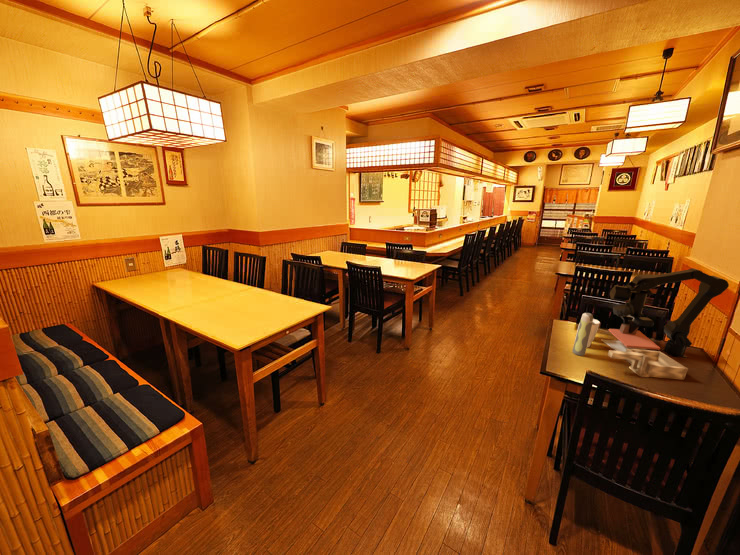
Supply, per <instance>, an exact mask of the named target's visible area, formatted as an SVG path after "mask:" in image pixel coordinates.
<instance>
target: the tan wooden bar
mask: <svg viewBox="0 0 740 555" xmlns="http://www.w3.org/2000/svg"><path fill="white" fill-rule="evenodd" d="M643 355H645V354H643V353H637V352H625V351H615V350H614V349H613V350H611V349H610V350H608V353H607V356H608V357H610V358H611V359H620V360H621V359H622V360H625V359H631V360H642V358H643ZM645 356H646V355H645Z"/></svg>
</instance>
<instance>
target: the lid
mask: <svg viewBox="0 0 740 555" xmlns="http://www.w3.org/2000/svg"><path fill="white" fill-rule="evenodd" d="M629 326H630V324H623V323H621V325H620V328H609V329H608V330H607V331H609V332H610V334H612V335H613V336H614V337H615V338H616V339H617V341H620V342H622V343H623V344H624V345H625V346H626V347H631V348H644V349H646V350H656V351H657V350H658V351H660V350H661V347H660V346H659V345H657V344H656V343H655V342H654V341H652V340H651V339H650V338H649V337H647V335H645V333H644V334H643V332H641V331H640V330H638V329H639V327H638V328H637V329H636V330H635V331H634V332H632V333H629Z"/></svg>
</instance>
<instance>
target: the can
mask: <svg viewBox="0 0 740 555" xmlns="http://www.w3.org/2000/svg"><path fill="white" fill-rule="evenodd" d="M579 325H580V322H579V323H578V326H577V331H576V335H575V339H576V336H577V332H578V328H579ZM594 330H595V323H594V322H593V323H592V327H591V331H590V335H589V339H588V343H587V348H590V347H591V344H592V342H593V341H592V338H593V334H594ZM575 339H574V340H575Z"/></svg>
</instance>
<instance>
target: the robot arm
mask: <svg viewBox="0 0 740 555" xmlns="http://www.w3.org/2000/svg"><path fill="white" fill-rule="evenodd" d="M690 280H696V281H699V282H700V283H699V286H698V290H697V291H698V293H697V294H695V296H694V297H693V299H692V300H691V301H690V302H689V304H688V305H687V306H686V308H685V309H684V310H683V311H682V313H681V314H680V315H679V316H678V318H677V319H675V320H671V319H669V320H667V323H666V324H665V325H664V326H663V333H664V334H665V335H666V337H667V341H666V343H665V344H664V348H660V350H661V351H662V352H663V353H665V354H666V355H668V356H671V357H675V358H687V357H688V356H687V355H685V352H686V350H687V348H689V347H691V346H692V344H693V343H692V341H691V340H690V339H689V338H688V336H689V334H690V333H691V332H690V330H691V326H692V324H693V323H694V322H695V320H696V319H697V318H698V316H699V315H700V314H701V313H702V312H703V310H704V309H705V308H706V307H707V305H709V303H710V302H711V300H712V299H714V298H716V297H718V296H721V294H723V293H724V292H725V291H727V289H729V286H730V284H729V282H728V281H727V279H725V278H721V277H719V276H715V275H710V274H708V273H705V272H703V271H702V270H699V269H698V268H694V267H693V268H688V269H683V270H678V271H673V272H668V273H667V272H666V273H661V274H655V275H654V274H639V275H635V276H634V277H633V279H632V280H631V281H629V282H628V283H627V284H626V285H623V286H622V285H617V284H614V285H613V287H612V288H611V290H610V293H609V297H610V299H611V300H617V301H623V302H625V301H626V302H625V303H624V304H623V305H622V304H621V305H616V306H613V307H612V312H613V315H616V316H617V317H620V318H621V319H622V322H623V323H622V324H630V326H629V333H632V332H634V331H635V330H636V329H637V328H638V327H653V326H654V324H655V321H654V320H653V319H650V318H649V317H645V316H644V315H645V314H644V313H643V310H644V309H646V308H647V306H646V305H645V303H646V301H647V297H648V295H649V296H654V293H653V292H652V291H651V289H654V288H657V287H659V286H660V285H665V284H666V285H667V284H671V283H677V282H683V281H690ZM638 329H639V328H638Z"/></svg>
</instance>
